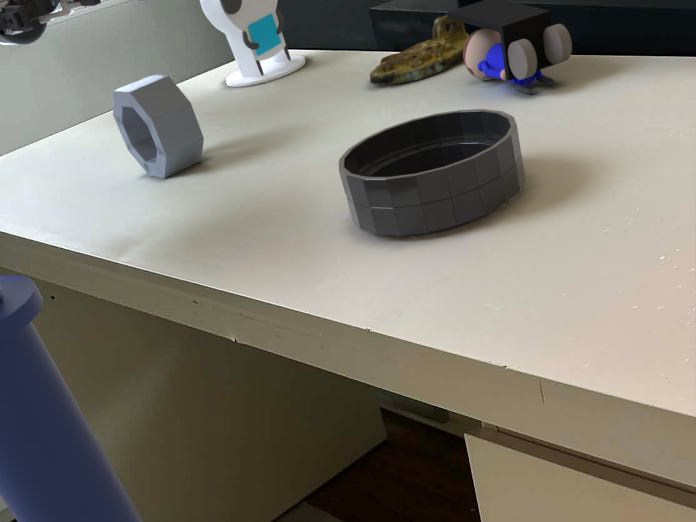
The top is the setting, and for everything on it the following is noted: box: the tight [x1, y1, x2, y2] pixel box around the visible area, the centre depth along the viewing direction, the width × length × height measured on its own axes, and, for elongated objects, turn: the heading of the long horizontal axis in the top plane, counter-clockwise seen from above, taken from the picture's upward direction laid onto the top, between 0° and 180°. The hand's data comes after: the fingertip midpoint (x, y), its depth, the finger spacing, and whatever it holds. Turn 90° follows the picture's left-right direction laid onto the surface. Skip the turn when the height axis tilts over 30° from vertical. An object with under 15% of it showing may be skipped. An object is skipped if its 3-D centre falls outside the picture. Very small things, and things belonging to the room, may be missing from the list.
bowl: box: [337, 108, 526, 238], centre depth 79 cm, size 15×15×5 cm
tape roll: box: [112, 74, 205, 179], centre depth 102 cm, size 9×5×9 cm, turn 46°
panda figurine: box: [199, 0, 306, 88], centre depth 125 cm, size 12×11×15 cm
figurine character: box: [446, 0, 573, 96], centre depth 100 cm, size 7×8×15 cm
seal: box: [369, 14, 470, 85], centre depth 114 cm, size 9×5×15 cm
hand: (60, 5), depth 101 cm, fingers open, 8 cm apart
